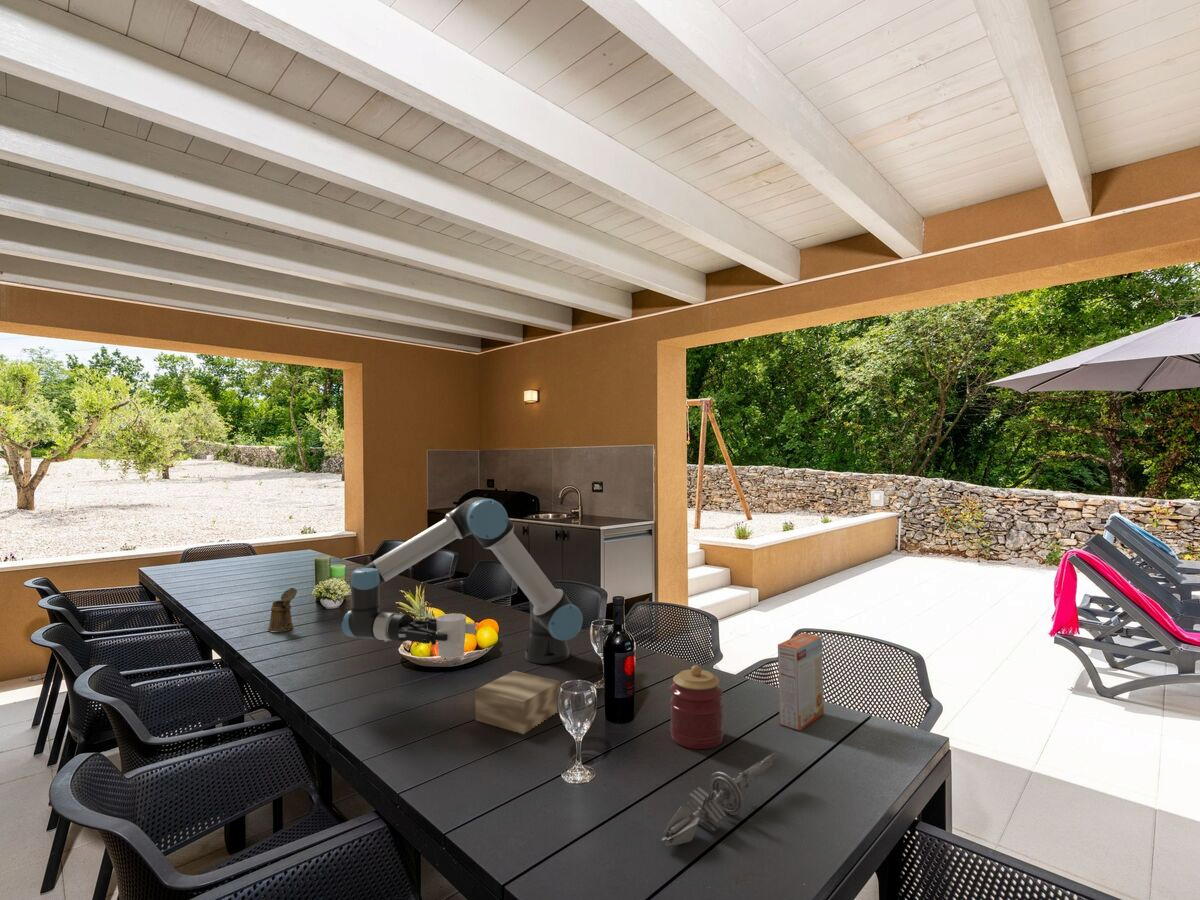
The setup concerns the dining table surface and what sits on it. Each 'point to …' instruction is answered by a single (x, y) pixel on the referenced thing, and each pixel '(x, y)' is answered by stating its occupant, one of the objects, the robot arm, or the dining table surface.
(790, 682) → the cracker box
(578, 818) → the dining table surface
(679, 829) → the spaceship
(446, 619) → the white cup
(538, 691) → the riser block
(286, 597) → the wooden mug
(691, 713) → the canister
